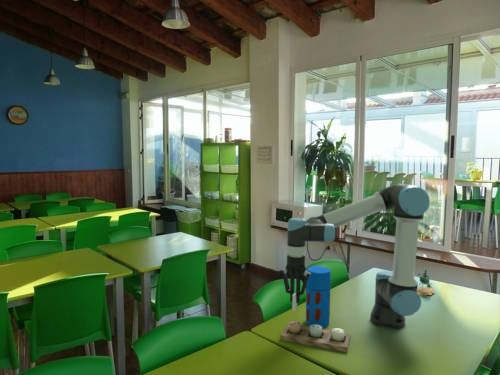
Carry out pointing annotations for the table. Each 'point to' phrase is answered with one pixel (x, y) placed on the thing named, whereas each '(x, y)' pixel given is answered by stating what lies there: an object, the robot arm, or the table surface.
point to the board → (316, 339)
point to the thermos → (318, 296)
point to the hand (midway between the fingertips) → (294, 309)
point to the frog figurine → (426, 290)
